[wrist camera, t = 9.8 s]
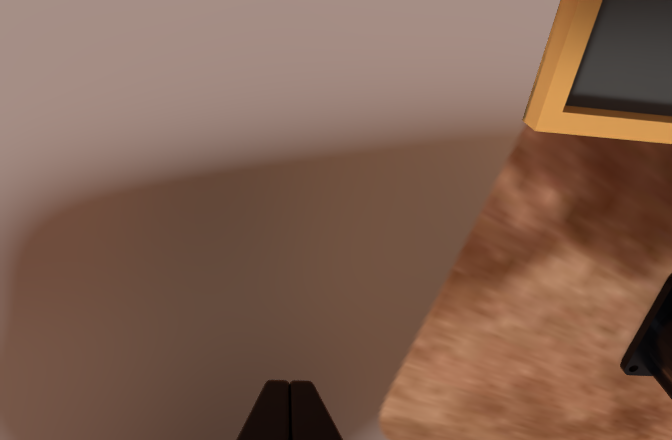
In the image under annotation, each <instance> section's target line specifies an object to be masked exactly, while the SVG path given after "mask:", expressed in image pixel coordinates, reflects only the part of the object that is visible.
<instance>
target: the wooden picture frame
mask: <svg viewBox="0 0 672 440" xmlns="http://www.w3.org/2000/svg"><path fill="white" fill-rule="evenodd" d="M522 120H523V121H524V122H525V123H526V124H527V125H529V126H530V127H531V128H532V129H533V130H535V131H541V132H552V133H562V134H573V135H584V136H594V137H605V138H615V139H626V140H636V141H647V142H657V143H668V144H672V0H561V1H560V4H559V7H558V10H557V13H556V16H555V19H554V22H553V26H552V29H551V32H550V35H549V38H548V41H547V44H546V48H545V51H544V54H543V57H542V60H541V63H540V66H539V69H538V73H537V76H536V79H535V82H534V85H533V88H532V91H531V95H530V98H529V101H528V104H527V107H526V110H525V113H524V117H523V119H522Z"/></svg>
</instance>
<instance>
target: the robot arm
mask: <svg viewBox="0 0 672 440" xmlns="http://www.w3.org/2000/svg"><path fill="white" fill-rule="evenodd" d="M620 367H621V369H622V370H623V371H624V373H625V374H627V375H636V376H653V377H654V378H655V379H656V380H657V382H658V383H659V384H660V385H661V387H662V388H663V389H664V390H665V392H666V393H667V394H668V395H669V397H670V398H671V399H672V277H671V278H670V279H669V280H668V281H667V282H666V284H665V286H664V287H663V289H662V291H661V293H660V294H659V296H658V298H657V300H656V301H655V303H654V305H653V307H652V309H651V310H650V312H649V314H648V316H647V317H646V319H645V321H644V323H643V325H642V326H641V328H640V330H639V332H638V333H637V335H636V337H635V339H634V340H633V342H632V344H631V346H630V348H629V349H628V351H627V353H626V355H625V356H624V358H623V360H622V362H621V364H620ZM236 440H343V439H342V437H341V435H340V433H339V431H338V429H337V428H336V425H335V423H334V422H333V420H332V418H331V416H330V414H329V412H328V410H327V408H326V406H325V405H324V403H323V401H322V399H321V397H320V395H319V393H318V391H317V390H316V387H315V386H314V384H313V383H312V382H311V381H305V380H293V381H291V382H290V384H289V382H288V381H286V380H268V381H267V382H266V383H265V384H264V386H263V388H262V390H261V392H260V394H259V396H258V398H257V400H256V402H255V404H254V406H253V408H252V410H251V412H250V413H249V416H248V417H247V419H246V421H245V423H244V425H243V427H242V429H241V431H240V433H239V435H238V437H237V439H236Z"/></svg>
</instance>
